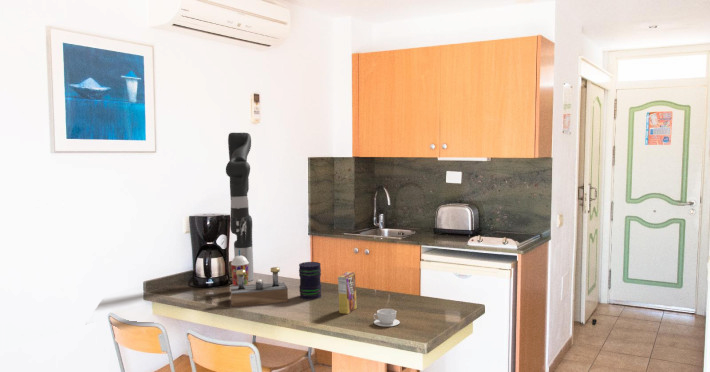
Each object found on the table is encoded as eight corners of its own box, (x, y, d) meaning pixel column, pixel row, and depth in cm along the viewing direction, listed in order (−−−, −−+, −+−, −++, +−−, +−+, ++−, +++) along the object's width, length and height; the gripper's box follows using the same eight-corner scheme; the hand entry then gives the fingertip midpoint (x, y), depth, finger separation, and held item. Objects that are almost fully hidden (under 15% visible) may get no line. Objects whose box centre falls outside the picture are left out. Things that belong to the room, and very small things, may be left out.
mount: (231, 299, 257) (230, 286, 257) (284, 294, 263) (284, 281, 262) (232, 306, 245) (231, 292, 245) (287, 301, 251) (287, 288, 251)
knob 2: (270, 287, 257) (270, 267, 256) (279, 286, 258) (279, 266, 257) (271, 289, 253) (271, 269, 252) (280, 289, 254) (280, 268, 253)
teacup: (398, 319, 224) (398, 307, 224) (401, 327, 215) (400, 315, 214) (372, 319, 224) (372, 308, 224) (374, 328, 214) (374, 315, 214)
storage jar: (323, 293, 263) (322, 261, 262) (319, 299, 253) (319, 266, 252) (301, 293, 264) (301, 261, 263) (297, 299, 254) (296, 266, 253)
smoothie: (247, 293, 266) (246, 251, 264) (230, 294, 266) (228, 251, 264) (251, 289, 274) (250, 247, 272) (234, 289, 274) (232, 248, 273)
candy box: (347, 307, 241) (346, 271, 240) (356, 308, 239) (356, 272, 238) (338, 313, 233) (337, 276, 232) (347, 314, 231) (347, 277, 230)
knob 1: (236, 290, 253) (235, 269, 253) (245, 289, 254) (245, 269, 254) (237, 292, 250) (236, 271, 249) (246, 291, 250) (245, 271, 250)
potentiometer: (255, 288, 251) (255, 279, 251) (262, 288, 252) (262, 279, 252) (256, 290, 248) (255, 281, 248) (263, 289, 249) (262, 280, 249)
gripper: (234, 205, 262) (236, 240, 263) (227, 208, 248) (229, 245, 249) (251, 205, 262) (252, 240, 263) (245, 207, 248) (247, 244, 249)
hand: (241, 242), depth 256 cm, fingers open, 8 cm apart
